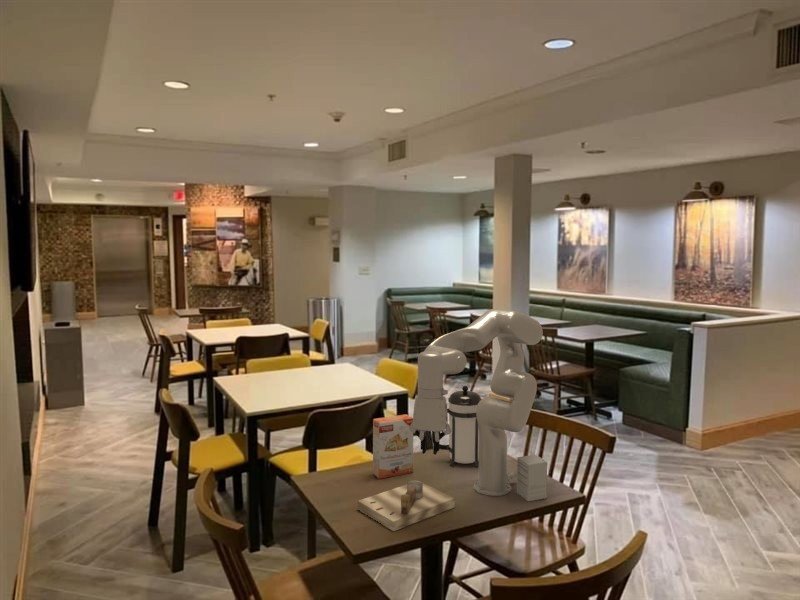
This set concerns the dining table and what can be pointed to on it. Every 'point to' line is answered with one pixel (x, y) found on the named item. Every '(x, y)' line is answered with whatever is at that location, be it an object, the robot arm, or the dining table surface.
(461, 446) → the coffee press
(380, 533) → the dining table surface
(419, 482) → the lever
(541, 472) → the supplement box
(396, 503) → the dial board
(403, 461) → the cracker box
